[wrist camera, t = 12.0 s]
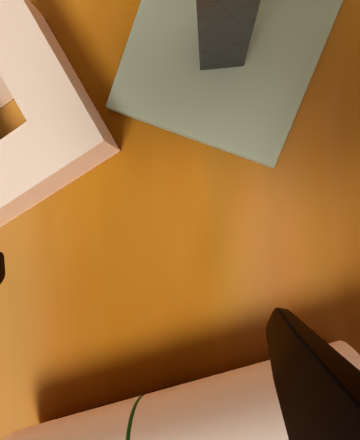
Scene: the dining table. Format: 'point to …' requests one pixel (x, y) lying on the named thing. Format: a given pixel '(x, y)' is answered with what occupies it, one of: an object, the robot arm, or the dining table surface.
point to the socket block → (43, 114)
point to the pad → (222, 75)
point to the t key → (225, 31)
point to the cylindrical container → (186, 411)
